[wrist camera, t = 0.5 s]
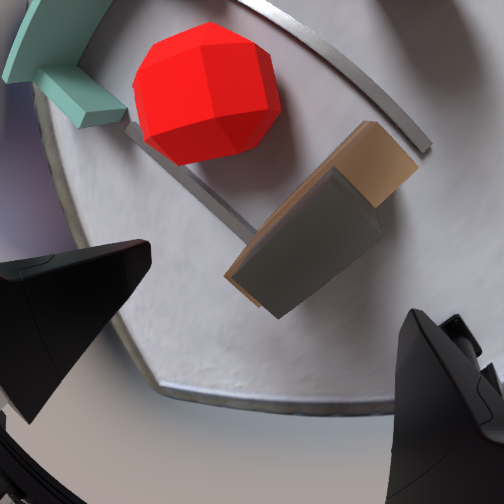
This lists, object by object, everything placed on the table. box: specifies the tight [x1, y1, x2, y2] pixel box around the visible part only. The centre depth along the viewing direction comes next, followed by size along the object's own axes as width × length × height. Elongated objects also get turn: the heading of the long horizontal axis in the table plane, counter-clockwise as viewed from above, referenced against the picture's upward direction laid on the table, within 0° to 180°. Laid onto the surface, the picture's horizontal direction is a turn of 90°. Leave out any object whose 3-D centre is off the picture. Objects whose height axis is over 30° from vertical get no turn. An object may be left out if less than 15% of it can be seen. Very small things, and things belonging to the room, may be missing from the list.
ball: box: [132, 22, 282, 166], centre depth 16 cm, size 8×8×8 cm
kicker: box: [223, 121, 419, 320], centre depth 15 cm, size 2×10×11 cm, turn 140°
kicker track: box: [125, 0, 433, 245], centre depth 19 cm, size 18×15×1 cm
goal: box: [2, 0, 127, 129], centre depth 15 cm, size 10×15×8 cm
